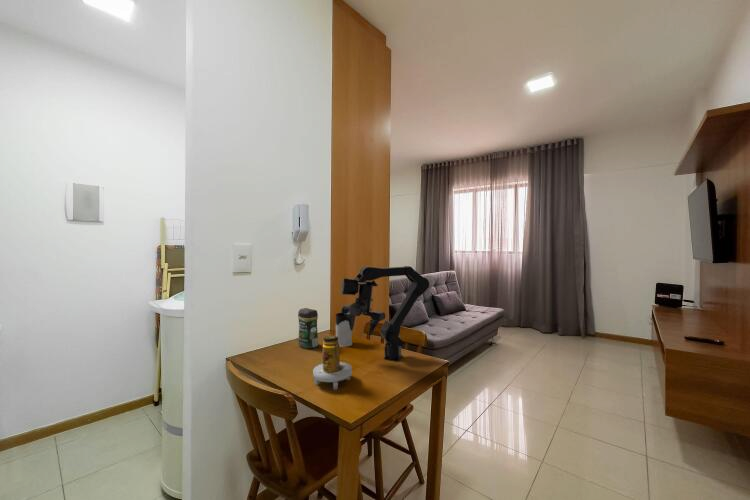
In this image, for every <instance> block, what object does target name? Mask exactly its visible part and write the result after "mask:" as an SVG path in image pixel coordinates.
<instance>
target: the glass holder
mask: <svg viewBox="0 0 750 500" xmlns="http://www.w3.org/2000/svg"><path fill="white" fill-rule="evenodd" d="M335 336H338V343H339V348H342V347H343V348H346V347H351V346H352V345H353V341H352V331H351V330H350V325H349V321H348V318H347V317H346V316H345V315H344V313H342V312H339V313H335Z"/></svg>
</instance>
